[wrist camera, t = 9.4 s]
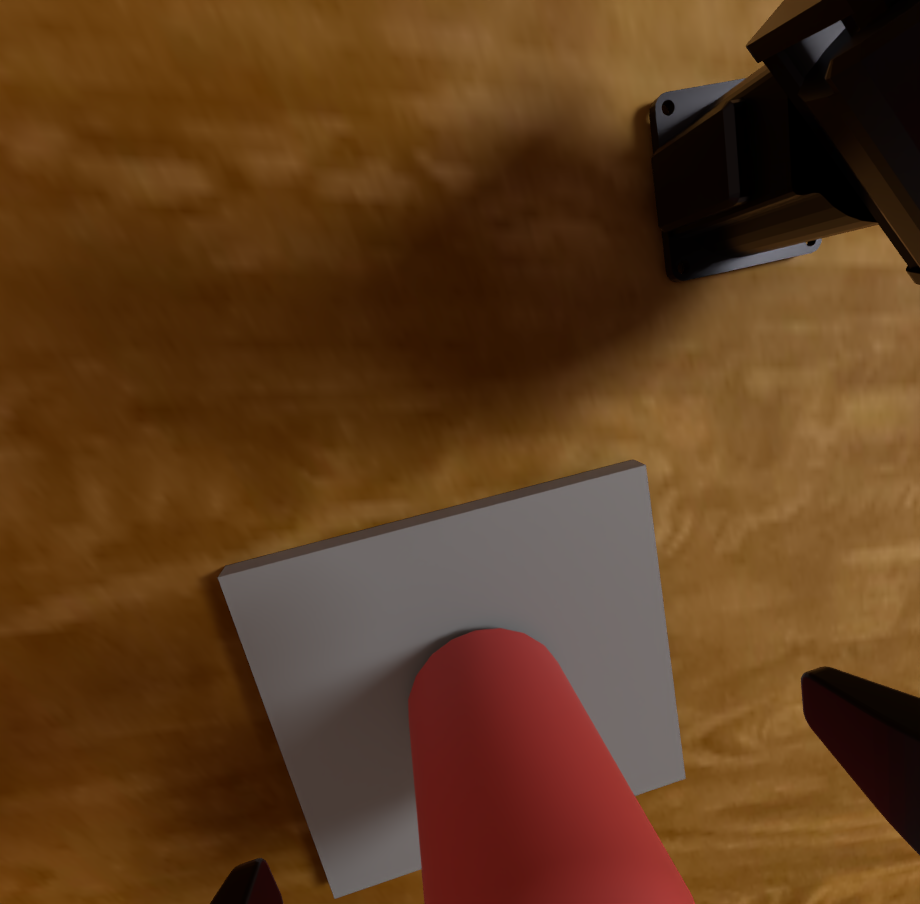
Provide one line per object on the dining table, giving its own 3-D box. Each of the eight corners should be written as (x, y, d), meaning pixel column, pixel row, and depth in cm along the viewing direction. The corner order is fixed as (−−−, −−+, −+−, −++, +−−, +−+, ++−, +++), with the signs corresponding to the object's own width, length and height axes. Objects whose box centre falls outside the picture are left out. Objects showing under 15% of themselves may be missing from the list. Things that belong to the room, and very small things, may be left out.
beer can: (572, 624, 21) (810, 962, 10) (543, 757, 22) (724, 1202, 11) (418, 615, 20) (478, 992, 8) (396, 757, 21) (422, 1260, 9)
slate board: (633, 459, 21) (645, 464, 20) (673, 761, 25) (685, 778, 24) (225, 566, 19) (217, 577, 18) (336, 875, 23) (334, 898, 22)
